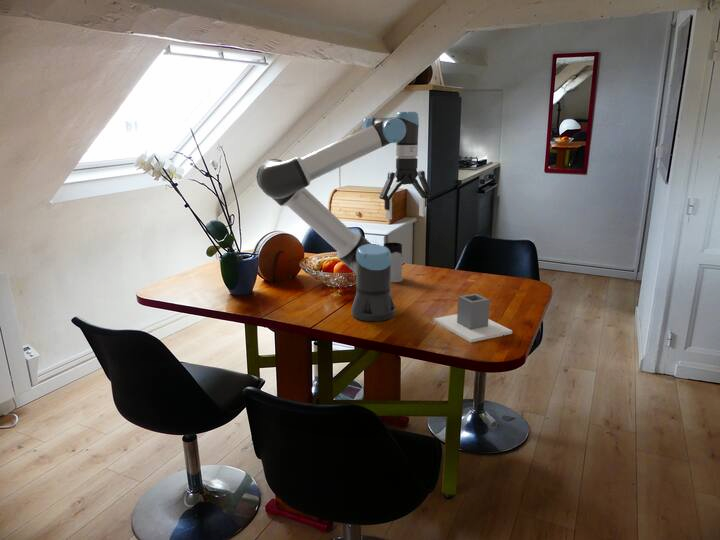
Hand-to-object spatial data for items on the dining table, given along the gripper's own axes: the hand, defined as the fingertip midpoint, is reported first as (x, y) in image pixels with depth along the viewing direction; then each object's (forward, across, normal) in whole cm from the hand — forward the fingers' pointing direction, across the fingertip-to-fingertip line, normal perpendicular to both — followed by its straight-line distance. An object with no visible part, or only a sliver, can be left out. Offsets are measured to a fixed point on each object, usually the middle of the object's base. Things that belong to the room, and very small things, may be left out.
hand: (405, 217), depth 198 cm
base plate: (+31, +5, -35) cm, 47 cm away
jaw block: (+30, +5, -35) cm, 46 cm away
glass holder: (+31, +9, +27) cm, 42 cm away
